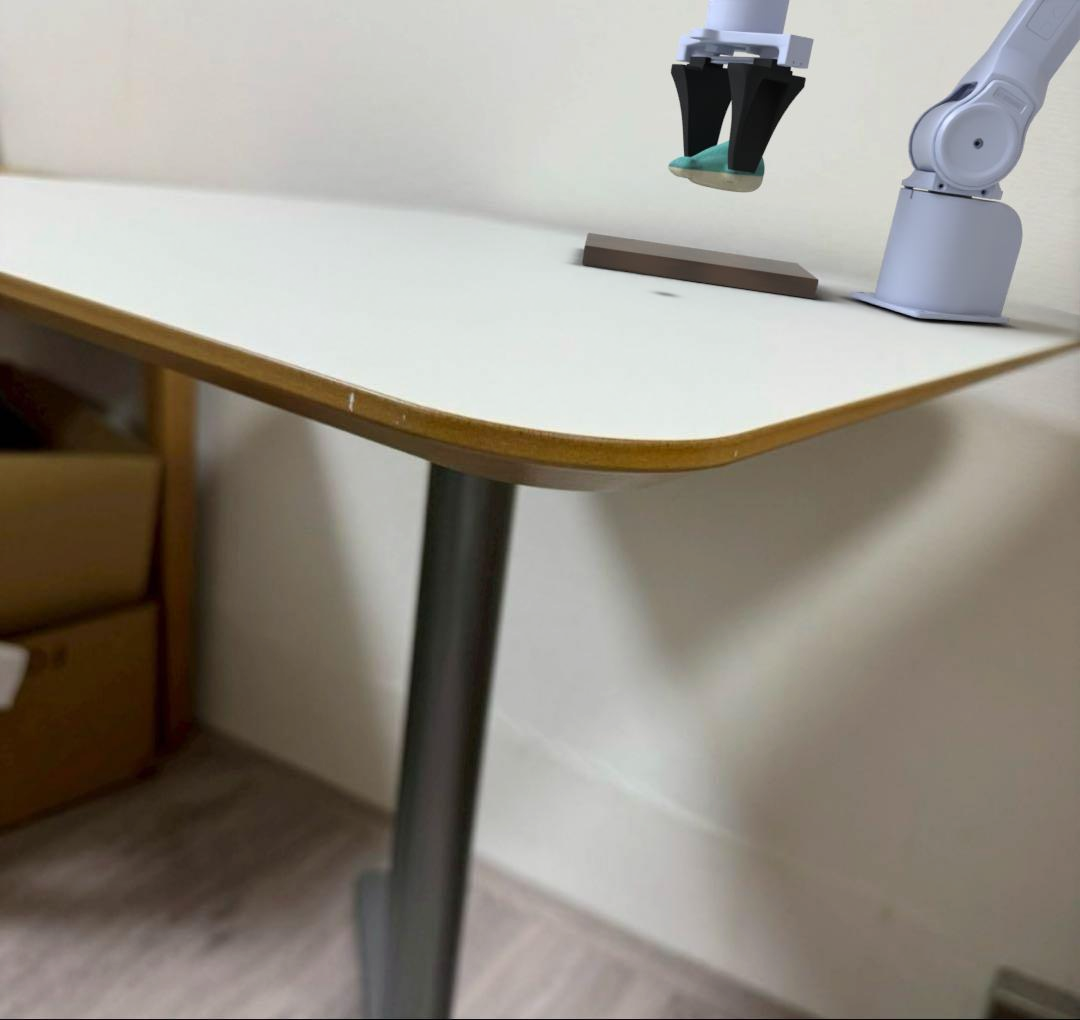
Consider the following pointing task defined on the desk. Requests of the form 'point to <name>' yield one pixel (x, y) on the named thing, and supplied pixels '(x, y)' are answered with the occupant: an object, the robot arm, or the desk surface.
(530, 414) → the desk surface
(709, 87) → the robot arm
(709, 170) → the whale figurine
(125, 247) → the desk surface
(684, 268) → the walnut board
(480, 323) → the desk surface
